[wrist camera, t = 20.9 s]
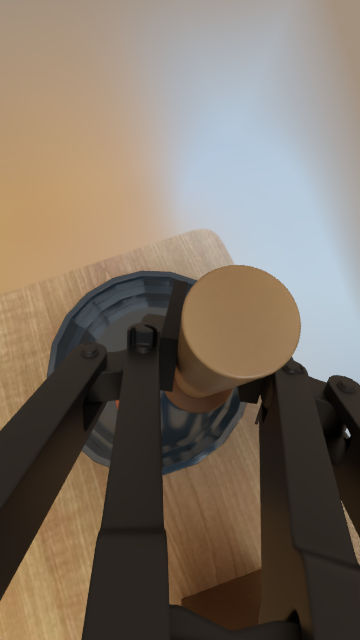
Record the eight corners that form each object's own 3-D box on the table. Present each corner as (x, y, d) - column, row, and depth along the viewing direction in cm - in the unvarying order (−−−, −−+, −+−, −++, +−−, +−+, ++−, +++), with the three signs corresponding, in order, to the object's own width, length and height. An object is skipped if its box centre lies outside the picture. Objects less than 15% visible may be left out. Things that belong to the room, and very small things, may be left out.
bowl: (208, 274, 37) (215, 252, 32) (263, 431, 32) (282, 436, 26) (54, 314, 35) (33, 297, 29) (86, 489, 30) (67, 506, 24)
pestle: (215, 339, 23) (293, 216, 8) (236, 401, 21) (372, 385, 7) (154, 356, 22) (124, 257, 8) (172, 421, 21) (175, 449, 6)
